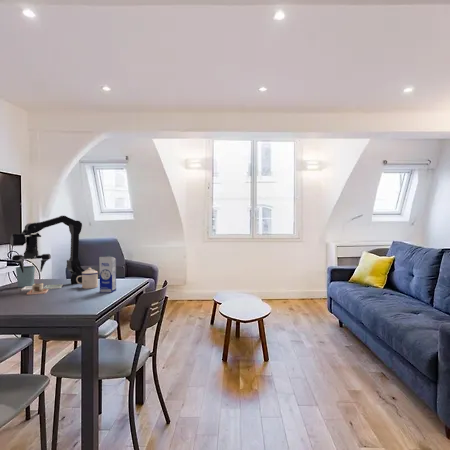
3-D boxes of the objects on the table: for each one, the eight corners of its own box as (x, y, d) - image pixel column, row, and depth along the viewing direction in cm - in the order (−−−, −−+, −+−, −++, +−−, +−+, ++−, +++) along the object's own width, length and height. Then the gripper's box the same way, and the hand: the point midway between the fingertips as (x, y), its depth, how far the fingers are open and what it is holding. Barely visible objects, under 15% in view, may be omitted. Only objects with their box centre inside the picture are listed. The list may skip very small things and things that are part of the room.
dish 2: (48, 291, 193) (48, 288, 193) (45, 294, 185) (45, 292, 185) (30, 292, 191) (30, 289, 191) (26, 295, 182) (26, 293, 182)
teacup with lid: (98, 285, 210) (97, 266, 210) (98, 288, 202) (98, 268, 201) (76, 286, 206) (76, 267, 206) (76, 289, 197) (75, 269, 197)
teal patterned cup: (28, 288, 203) (28, 267, 203) (12, 288, 203) (11, 268, 203) (38, 284, 213) (38, 265, 213) (22, 285, 213) (22, 265, 213)
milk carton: (99, 292, 189) (99, 256, 189) (104, 290, 196) (103, 255, 195) (112, 292, 189) (111, 256, 188) (116, 290, 195) (116, 255, 195)
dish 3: (62, 286, 207) (62, 284, 207) (60, 289, 199) (60, 286, 199) (46, 287, 205) (46, 285, 205) (43, 290, 196) (43, 287, 196)
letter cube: (43, 291, 191) (43, 283, 190) (41, 292, 186) (41, 284, 186) (34, 291, 189) (34, 283, 189) (32, 293, 185) (32, 285, 185)
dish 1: (42, 287, 204) (42, 285, 204) (39, 290, 196) (39, 288, 195) (25, 288, 201) (25, 286, 201) (21, 291, 193) (21, 289, 193)
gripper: (8, 246, 187) (9, 275, 187) (46, 245, 192) (47, 273, 193) (14, 245, 198) (15, 272, 198) (50, 244, 203) (51, 270, 203)
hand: (32, 272), depth 198 cm, fingers open, 9 cm apart
